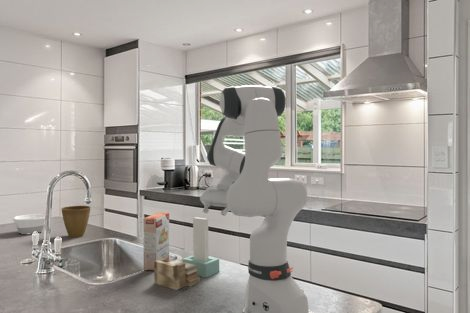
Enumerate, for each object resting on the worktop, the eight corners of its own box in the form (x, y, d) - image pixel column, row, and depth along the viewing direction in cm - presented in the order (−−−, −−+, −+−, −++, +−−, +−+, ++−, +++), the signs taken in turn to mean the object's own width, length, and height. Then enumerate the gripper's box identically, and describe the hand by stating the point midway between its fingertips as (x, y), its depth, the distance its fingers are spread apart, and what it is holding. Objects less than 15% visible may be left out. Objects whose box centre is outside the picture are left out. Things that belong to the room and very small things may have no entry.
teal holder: (219, 271, 144) (219, 258, 144) (206, 277, 138) (205, 264, 138) (196, 266, 151) (196, 253, 151) (182, 271, 145) (182, 258, 145)
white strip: (208, 269, 144) (208, 218, 143) (205, 271, 142) (204, 219, 141) (197, 266, 147) (196, 217, 147) (193, 268, 145) (193, 217, 145)
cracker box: (157, 271, 145) (156, 218, 145) (143, 270, 147) (142, 218, 146) (170, 260, 159) (169, 212, 159) (157, 259, 160) (156, 211, 160)
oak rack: (185, 285, 130) (185, 263, 129) (176, 290, 126) (176, 266, 126) (163, 279, 136) (163, 258, 136) (154, 283, 132) (154, 261, 132)
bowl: (46, 227, 228) (45, 212, 228) (50, 233, 214) (50, 216, 213) (12, 231, 218) (12, 215, 218) (14, 237, 204) (14, 220, 203)
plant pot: (66, 240, 195) (65, 210, 195) (58, 235, 207) (58, 207, 206) (94, 236, 205) (94, 207, 204) (86, 231, 216) (85, 204, 216)
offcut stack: (199, 282, 133) (199, 265, 133) (189, 286, 129) (189, 269, 129) (171, 274, 141) (171, 259, 141) (162, 278, 137) (161, 262, 137)
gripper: (205, 181, 163) (191, 206, 155) (244, 183, 151) (230, 211, 143) (212, 190, 167) (198, 215, 159) (250, 193, 155) (236, 220, 147)
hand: (213, 213), depth 151 cm, fingers open, 8 cm apart
